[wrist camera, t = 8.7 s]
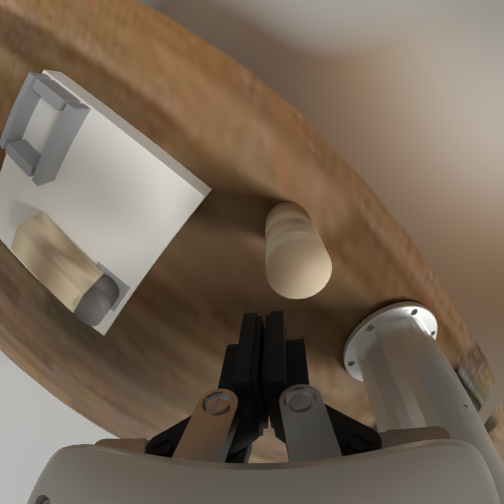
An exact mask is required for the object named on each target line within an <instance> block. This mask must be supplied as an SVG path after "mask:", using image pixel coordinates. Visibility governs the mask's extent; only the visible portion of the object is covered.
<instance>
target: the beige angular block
mask: <svg viewBox="0 0 504 504" xmlns="http://www.w3.org/2000/svg"><path fill="white" fill-rule="evenodd" d="M11 249H12V250H13V251H14V252H15V254H16V255H17V256H18V257H19V258H20V259H21V261H22V262H23V263H24V264H25V265H26V266H27V267H28V268H29V269H30V271H31V272H32V273H33V274H34V275H35V276H36V277H37V278H38V279H39V280H40V281H41V282H42V283H43V284H44V285H45V286H46V287H47V288H48V289H49V290H50V291H51V292H52V293H53V294H54V295H55V296H56V297H57V298H58V299H59V300H60V301H61V302H62V303H63V304H64V305H65V306H66V307H67V308H68V309H69V310H70V311H72V312H74V313H75V314H76V316H77V317H78V318H79V319H80V320H81V321H82V322H83V323H85V324H87V325H89V326H97V325H99V324H100V322H101V321H102V320H103V318H104V317H105V315H106V314H107V313H108V311H109V310H110V309H111V307H112V306H113V305H114V303H115V302H116V301H117V299H118V298H119V288H118V286H117V284H116V283H115V281H114V280H113V279H112V278H110V277H109V276H107V275H104V272H103V271H102V270H101V269H100V268H98V267H97V266H96V265H95V264H94V263H93V262H92V261H91V260H90V259H89V258H88V257H87V256H86V255H85V254H84V253H83V252H82V251H81V250H80V249H78V248H77V247H76V246H75V245H74V244H73V243H72V242H71V241H70V240H69V239H68V238H67V237H66V235H65V234H64V233H63V232H62V231H61V230H60V229H59V228H58V227H57V226H56V225H55V224H54V223H53V222H52V221H51V220H50V219H49V218H48V217H47V215H46V214H45V213H44V212H43V213H41V214H39V215H37V216H35V217H33V218H31V219H29V220H28V221H26V222H24V223H22V224H20V225H18V227H17V230H16V233H15V236H14V239H13V243H12V246H11Z"/></svg>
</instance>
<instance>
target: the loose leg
mask: <svg viewBox="0 0 504 504" xmlns="http://www.w3.org/2000/svg"><path fill="white" fill-rule="evenodd" d="M265 251H266V277H267V281H268V283H269V285H270V286H271V288H272V289H273V290H274V291H275V292H277V293H278V294H280V295H281V296H284V297H286V298H291V299H303V298H307V297H310V296H313V295H315V294H316V293H318V292H319V291H320V290H322V289H323V288H324V287H325V285H326V284H327V282H328V281H329V278H330V276H331V271H332V264H331V259H330V257H329V255H328V253H327V251H326V249H325V247H324V245H323V243H322V241H321V239H320V237H319V235H318V233H317V231H316V229H315V227H314V225H313V223H312V221H311V219H310V217H309V215H308V213H307V212H306V210H305V209H304V208H303V207H302V206H300V205H299V204H297V203H293V202H283V203H279V204H277V205H275V206H274V207H273V208H272V209H271V210H270V211H269V212H268V214H267V216H266V220H265Z"/></svg>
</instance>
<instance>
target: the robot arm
mask: <svg viewBox="0 0 504 504" xmlns="http://www.w3.org/2000/svg"><path fill="white" fill-rule="evenodd" d="M436 335H437V321H436V319H435V317H434V315H433V313H432V312H431V311H430V310H429V309H428V308H427V307H426V306H424V305H423V304H420V303H417V302H409V301H407V302H398V303H395V304H391V305H388V306H386V307H384V308H381V309H379V310H377V311H376V312H374V313H372V314H371V315H369V316H368V317H367V318H366V319H364V320H363V321H362V322H361V323H360V324H359V325H358V326H357V327H356V328H355V329H354V330H353V332H352V333H351V335H350V336H349V338H348V340H347V342H346V344H345V347H344V351H343V360H344V364H345V367H346V370H347V372H348V373H349V374H350V375H351V376H352V377H353V378H355V379H356V380H359V381H362V382H364V385H365V388H366V391H367V394H368V398H369V401H370V404H371V407H372V411H373V414H374V418H375V421H376V425H377V428H378V432H376V431H375V430H373V429H372V428H370V427H368V426H366V425H364V424H362V423H360V422H358V421H356V420H354V419H352V418H350V417H348V416H346V415H344V414H342V413H341V412H339V411H337V410H335V409H333V408H331V407H330V406H328V405H326V404H324V401H323V398H322V395H321V393H320V392H319V390H318V389H316V388H315V387H313V386H311V385H309V379H308V370H307V361H306V352H305V344H304V338H303V339H294V340H287V337H286V328H285V320H284V312H283V310H281V311H271V312H270V315H266V319H265V329H264V323H263V317H262V316H258V315H257V313H250V314H244V316H243V321H242V327H241V333H240V339H239V344H232V345H228V346H227V349H226V353H225V358H224V363H223V367H222V372H221V376H220V381H219V385H218V389H215V390H211V391H209V392H207V393H205V394H204V395H203V396H202V397H201V398H200V400H199V401H198V404H197V406H196V408H195V410H194V412H193V414H192V415H191V416H190V417H188V418H186V419H185V420H183V421H181V422H179V423H178V424H176V425H174V426H173V427H171V428H169V429H167V430H166V431H164V432H162V433H160V434H158V435H157V436H155V437H154V438H152V439H151V440H146V438H137V439H102V440H100V441H98V442H97V443H95V445H92V444H81V445H71V446H67V447H63V448H61V449H59V450H58V451H57V452H56V453H55V454H54V455H53V456H52V457H51V459H50V460H49V461H48V463H47V464H46V466H45V468H44V470H43V471H42V473H41V475H40V477H39V479H38V481H37V483H36V485H35V487H34V489H33V491H32V493H31V496H30V498H29V500H28V503H27V504H504V465H503V463H502V461H501V460H500V458H499V455H498V453H497V451H496V449H495V447H494V445H493V443H492V441H491V439H490V437H489V436H488V433H487V431H486V429H485V427H484V425H483V423H482V421H481V419H480V417H479V415H478V413H477V412H476V410H475V408H474V406H473V404H472V402H471V400H470V398H469V396H468V395H467V393H466V391H465V389H464V387H463V386H462V384H461V382H460V380H459V379H458V377H457V375H456V373H455V372H454V370H453V368H452V367H451V365H450V363H449V362H448V360H447V359H446V357H445V355H444V354H443V352H442V350H441V349H440V347H439V346H438V344H437V343H436V341H435V339H436ZM268 418H270V422H271V427H272V428H274V431H275V436H276V437H277V438H278V439H280V440H281V441H282V442H284V443H285V444H286V449H287V454H288V459H289V462H284V463H248V460H249V457H250V453H251V450H252V442H253V441H255V440H256V439H257V438H259V436H263V429H265V428H268Z"/></svg>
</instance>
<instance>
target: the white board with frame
mask: <svg viewBox="0 0 504 504" xmlns="http://www.w3.org/2000/svg"><path fill="white" fill-rule="evenodd" d="M0 146H1V147H2V149H5V148H6V150H5V152H6V156H5V159H4V162H3V166H2V169H1V172H0V239H1V240H2V242H3V243H4V244H5V245H6V246H7V247H8V248H9V250H10V251H11V252H12V253H13V254H14V255H15V256H16V257H17V258H18V259H19V260H20V261H21V259H20V258H19V257H18V256H17V255H16V254H15V252H14V251H13V250H12V249H11V246H12V243H13V239H14V236H15V233H16V230H17V227H18V225H20V224H22V223H24V222H26V221H28V220H29V219H31V218H33V217H35V216H37V215H39V214H41V213H43V212H44V213H45V214H46V215H47V217H48V218H49V219H50V220H51V221H52V222H53V223H54V224H55V225H56V226H57V227H58V228H59V229H60V230H61V231H62V232H63V233H64V234H65V235H66V237H67V238H68V239H69V240H70V241H71V242H72V243H73V244H74V245H75V246H76V247H77V248H78V249H80V250H81V251H82V252H83V253H84V254H85V255H86V256H87V257H88V258H89V259H90V260H91V261H92V262H93V263H94V264H95V265H96V266H97V267H98V268H100V269H101V270H102V271H103V272H104V275H107V276H109V277H110V278H112V279H113V280H114V281H115V283H116V284H117V286H118V288H119V298H118V299H117V301H116V302H115V303H114V305H113V306H112V307H111V309H110V310H109V311H108V313H107V314H106V315H105V317H104V318H103V320H102V321H101V322H100V324H99V325H97V326H92V327H93V328H94V329H96V330H97V331H98V332H100V333H101V334H102V335H105V334H106V332H107V331H108V329H109V328H110V326H111V325H112V323H113V322H114V320H115V319H116V317H117V316H118V314H119V313H120V311H121V310H122V308H123V307H124V305H125V304H126V303H127V301H128V300H129V298H130V297H131V295H132V294H133V292H134V291H135V289H136V288H137V287H138V285H139V284H140V282H141V281H142V280H143V278H144V277H145V275H146V274H147V273H148V271H149V270H150V268H151V267H152V266H153V264H154V263H155V262H156V260H157V259H158V258H159V256H160V255H161V254H162V252H163V251H164V249H165V248H166V247H167V246H168V244H169V243H170V242H171V240H172V239H173V238H174V236H175V235H176V234H177V232H178V231H179V230H180V229H181V227H182V226H183V225H184V223H185V222H186V221H187V220H188V218H189V217H190V216H191V215H192V213H193V212H194V211H195V210H196V208H197V207H198V206H199V205H200V203H201V202H202V201H203V200H204V198H205V197H206V196H207V195H208V194H209V192H210V191H211V190H212V189H211V188H210V187H209V186H207V185H206V184H205V183H204V182H202V181H201V180H200V179H199V178H197V177H196V176H195V175H194V174H193V173H191V172H190V171H189V170H188V169H186V168H185V167H184V166H183V165H181V164H180V163H179V162H178V161H176V160H175V159H174V158H173V157H171V156H170V155H169V154H168V153H166V152H165V151H164V150H163V149H161V148H160V147H159V146H157V145H156V144H155V143H154V142H152V141H151V140H150V139H149V138H147V137H146V136H145V135H143V134H142V133H141V132H140V131H138V130H137V129H136V128H135V127H133V126H132V125H131V124H129V123H128V122H127V121H125V120H124V119H123V118H122V117H120V116H119V115H118V114H116V113H115V112H114V111H112V110H111V109H110V108H109V107H107V106H106V105H105V104H103V103H102V102H101V101H99V100H98V99H97V98H95V97H94V96H93V95H91V94H90V93H89V92H87V91H86V90H85V89H83V88H82V87H81V86H79V85H78V84H77V83H75V82H74V81H73V80H71V79H70V78H69V77H67V76H66V75H65V74H63V73H62V72H57V71H50V70H43V72H42V73H33V72H29V74H28V76H27V78H26V80H25V82H24V84H23V86H22V88H21V90H20V92H19V94H18V96H17V98H16V101H15V103H14V105H13V107H12V110H11V112H10V115H9V117H8V120H7V122H6V125H5V127H4V130H3V133H2V136H1V139H0ZM21 262H22V261H21ZM22 264H23V265H24V266H25V267H26V268H27V269H28V270H29V271H30V269H29V268H28V267H27V266H26V265H25V264H24V263H23V262H22ZM30 272H31V271H30ZM31 273H32V272H31ZM32 274H33V273H32ZM33 275H34V274H33ZM34 276H35V275H34ZM35 277H36V276H35ZM36 278H37V277H36ZM37 279H38V278H37ZM38 280H39V279H38ZM39 281H40V280H39ZM40 282H41V281H40ZM41 283H42V282H41ZM42 284H43V283H42ZM43 285H44V284H43Z"/></svg>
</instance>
